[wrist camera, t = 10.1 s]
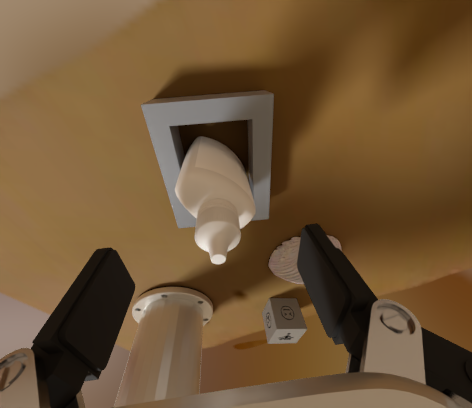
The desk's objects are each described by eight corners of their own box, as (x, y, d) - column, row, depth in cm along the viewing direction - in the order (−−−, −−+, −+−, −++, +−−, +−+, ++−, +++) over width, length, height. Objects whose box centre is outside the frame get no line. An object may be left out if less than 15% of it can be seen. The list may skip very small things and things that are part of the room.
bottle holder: (262, 202, 22) (268, 218, 20) (182, 210, 22) (178, 228, 19) (265, 90, 16) (274, 93, 13) (152, 99, 16) (140, 104, 13)
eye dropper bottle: (226, 122, 17) (240, 195, 7) (247, 176, 20) (278, 278, 10) (181, 142, 18) (139, 234, 8) (209, 191, 21) (203, 301, 11)
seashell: (366, 241, 23) (347, 303, 27) (338, 220, 28) (325, 275, 32) (282, 245, 22) (274, 310, 26) (269, 222, 27) (264, 279, 31)
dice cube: (262, 312, 36) (267, 343, 32) (269, 297, 34) (276, 329, 30) (287, 312, 37) (296, 342, 33) (296, 297, 35) (307, 328, 30)
